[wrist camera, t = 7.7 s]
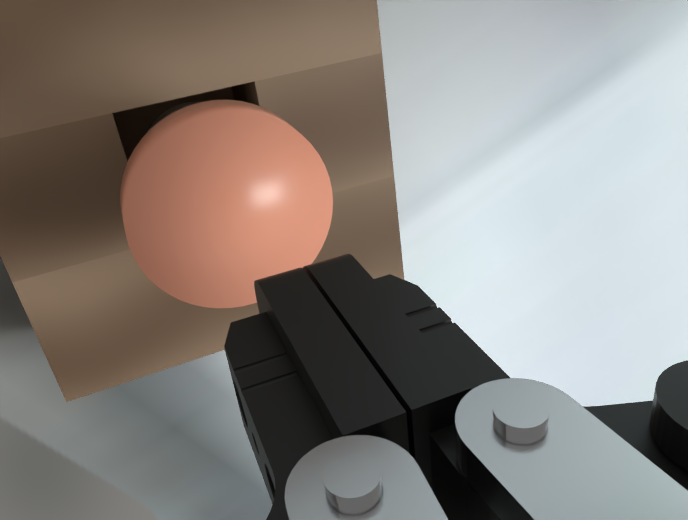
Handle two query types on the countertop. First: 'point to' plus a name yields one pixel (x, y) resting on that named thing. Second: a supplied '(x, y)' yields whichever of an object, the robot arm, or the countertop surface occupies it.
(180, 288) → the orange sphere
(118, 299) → the button panel
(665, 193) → the countertop surface
